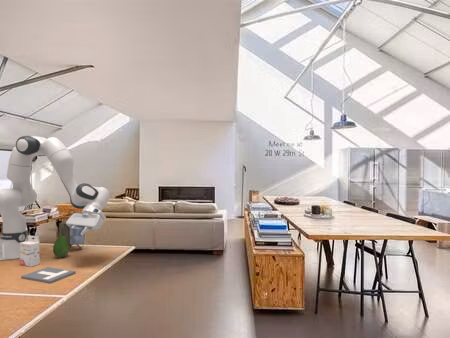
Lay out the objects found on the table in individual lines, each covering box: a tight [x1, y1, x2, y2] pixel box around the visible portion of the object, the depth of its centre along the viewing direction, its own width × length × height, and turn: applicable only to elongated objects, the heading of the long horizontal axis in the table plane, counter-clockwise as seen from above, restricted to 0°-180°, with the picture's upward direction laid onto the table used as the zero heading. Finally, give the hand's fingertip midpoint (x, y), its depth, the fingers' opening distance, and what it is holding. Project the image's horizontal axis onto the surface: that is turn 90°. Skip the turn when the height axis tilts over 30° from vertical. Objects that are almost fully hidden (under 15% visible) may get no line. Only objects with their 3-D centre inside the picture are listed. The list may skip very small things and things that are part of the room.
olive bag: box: [58, 208, 86, 250], centre depth 193 cm, size 14×9×25 cm, turn 58°
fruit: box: [52, 236, 70, 259], centre depth 176 cm, size 8×8×12 cm
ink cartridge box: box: [19, 234, 40, 268], centre depth 162 cm, size 9×5×15 cm, turn 71°
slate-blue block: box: [70, 227, 85, 246], centre depth 160 cm, size 4×4×8 cm
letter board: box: [20, 266, 77, 284], centre depth 146 cm, size 18×14×1 cm
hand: (76, 234), depth 159 cm, fingers closed on slate-blue block, 4 cm apart
